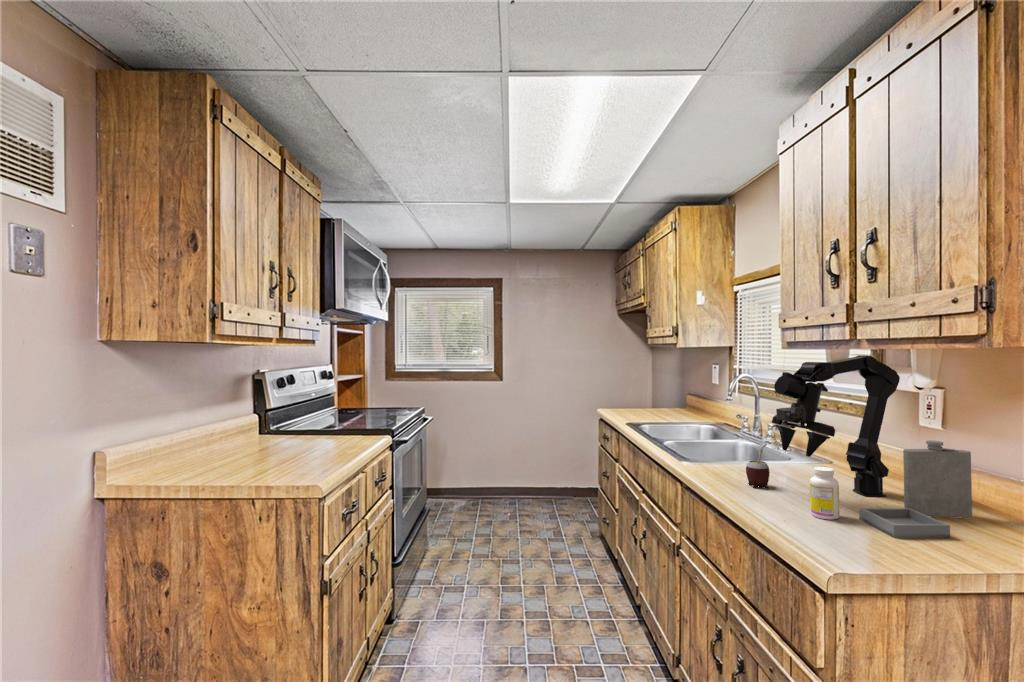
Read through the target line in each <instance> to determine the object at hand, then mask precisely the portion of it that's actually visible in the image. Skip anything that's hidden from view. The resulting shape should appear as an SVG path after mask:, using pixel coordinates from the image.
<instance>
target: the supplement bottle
mask: <svg viewBox="0 0 1024 682" xmlns="http://www.w3.org/2000/svg"><path fill="white" fill-rule="evenodd" d="M813 473H814V476H812V477H811V478H810V479H809V489H810V491H809V494H810V513H811V515H812V516H814V517H815V518H819V519H823V520H829V521H831V520H837V519H839V518H840V492H839V491H840V490H839V489H840V488H839V487H840V485H839V484H840V483H839V481H838V479H836V478H835V477H834V475H835V469H834V468H831V467H826V466H825V467H824V466H815V467H814V468H813Z"/></svg>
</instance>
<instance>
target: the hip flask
mask: <svg viewBox="0 0 1024 682" xmlns="http://www.w3.org/2000/svg"><path fill="white" fill-rule="evenodd" d="M925 444H926V445H927V448H907V449H906V448H905V449H903V450H902V451H903V456H902V457H903V493H904V494H903V496H904V497H903V499H904V503H903V504H904V507H903V508H911V509H913V510H915V511H918V512H920V513H922V514H925V515H927V516H930V517H931V516H932V518H951V517H961V518H960V519H966V518H971V519H973V492H972V490H973V489H972V485H973V483H972V452H971V451H970V450H962V449H955V448H947V447H946V448H945V447H943V446H944V441H942V440H941V441H940V440H931V439H929V440H926V441H925Z"/></svg>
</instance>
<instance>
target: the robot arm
mask: <svg viewBox="0 0 1024 682" xmlns="http://www.w3.org/2000/svg"><path fill="white" fill-rule="evenodd" d="M855 371H858V374H859V376H860V377H862V378H863V379H864V387H865V389H866V392H867V399H866V403H865V404H866V405H865V408H864V412H863V417H862V420H861V425H860V429H859V434H858V437H857V439H856V440H855V441H854V442H852V441H851V442H848V443H847V450H846V452H845V455H846V461H847V463H848V465H849V469H850V471H851V472H855V473H854V474H855V477H853V482H854V484H853V485H854V486H853V487H854V488H853V489H852V492H855V493H857V494H858V495H862V496H863V497H887V494H885V493H884V485H883V482H884V481H883V478H885V477H888V475H889V471H890V470H889V468H888V467H887V466H886V465H885V464H884V463H883V461H882V452H881V449H880V447H879V444H878V441H879V439H880V438H879V436H880V433H881V430H882V424H883V421H884V415H885V412H886V408H887V403H888V399H889V398H890V397H891V396H892V395H893V394H894V393H895V392H896V390H897V389H898V385H899V383H900V379H901V377H900V375H899V373H898V371H896V369H893V368H892V367H890V366H889V365H887V364H885V363H884V362H882V361H879V360H877V358H876V357H874V356H872V355H860V354H859V355H856V356H852V357H848V358H842V359H838V360H831V361H826V362H825V361H824V362H823V361H822V362H821V361H805V362H803V363H802V364H801V366H800V367H799V368H798V370H796V371H795V372H794V373H793V374H792V373H790V372H785V371H783V372H782V375H781V376H779V377H778V378H777V379H776V381H774V386H773V387H774V391H775V393H776V394H778V395H780V396H784V397H788V398H792V399H794V400H795V399H796V401H795V402H792V403H791V404H790V407H781V408H776V411H775V413H776V414H775V415H774V416H772V420H771V424H774V425H773V426H774V427H775V428H777V430H778V432H779V434H780V440H781V448H782V451H785V452H786V451H787V450H788V448H789V447H790V444H791V442H792V441H793V438H794V435H795V434H796V431H797V430H796V429H795V428H800V429H804V430H806V431H805V432H806V434H807V437H808V438H807V439H808V440H807V444H806V451H805V456H806V457H809V458H810V457H812V455H813V454H814V453H815V452H816V451H817V450H818V448H820V446H821V445H823V444H824V442H826V441H827V440H830V439H831V437H833V438H834V437H835V434H836V429H835V427H834V426H833V425H830V424H826V423H822V422H818V421H815V420H816V416H817V413H821V411H822V409H821V408H819V403H820V399H821V395H822V393H823V392H825V393H827V392H829V389H828V388H827V386H825V383H823V382H827V381H828V380H831V379H832V378H834V376H837V375H840V374H845V373H850V372H855ZM807 430H809V431H807Z"/></svg>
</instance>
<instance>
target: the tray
mask: <svg viewBox="0 0 1024 682" xmlns="http://www.w3.org/2000/svg"><path fill="white" fill-rule="evenodd" d="M858 515H859V517H858V519H859V521H862V522H863V523H865V524H867V525H869V526H870V527H873V528H875V529H876V530H878V531H880V532H883V533H885V534H886V535H888V536H889V537H891V538H893V539H903V538H904V539H951V525H950V524H947V523H945V522H943V521H941V520H938V519H936V518H935V517H929V516H927V515H925V514H922V513H920V512H918V511H915V510H913V509H911V508H905V507H859V508H858Z"/></svg>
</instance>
